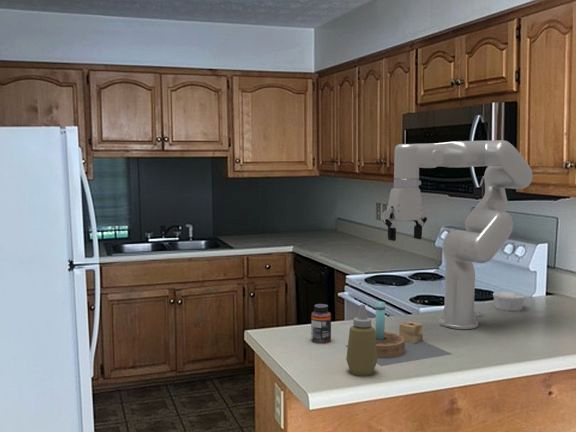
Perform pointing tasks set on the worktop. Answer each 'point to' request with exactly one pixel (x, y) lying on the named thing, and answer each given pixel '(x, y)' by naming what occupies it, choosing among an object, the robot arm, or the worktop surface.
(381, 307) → the teal marker pen
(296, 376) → the worktop surface
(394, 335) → the faceted wooden ring
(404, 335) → the cube bead
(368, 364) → the squeeze bottle
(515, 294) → the ramekin
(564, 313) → the worktop surface
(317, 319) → the supplement bottle
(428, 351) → the felt mat
